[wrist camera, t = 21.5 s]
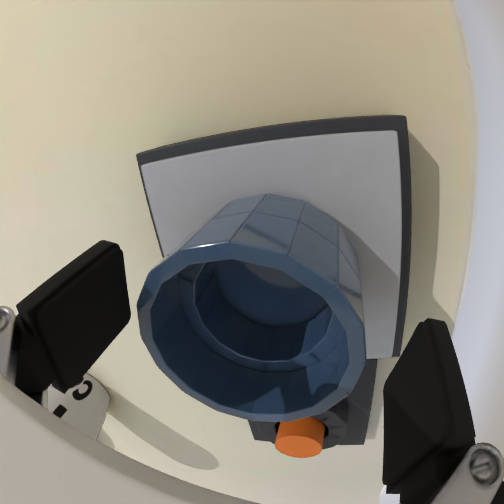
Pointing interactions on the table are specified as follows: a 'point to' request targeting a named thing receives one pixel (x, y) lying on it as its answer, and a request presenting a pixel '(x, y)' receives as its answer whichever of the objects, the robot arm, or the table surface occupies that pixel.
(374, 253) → the scale
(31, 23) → the table surface
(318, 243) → the blue round container
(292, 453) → the button
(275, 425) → the panel
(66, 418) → the cup
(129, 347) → the table surface
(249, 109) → the table surface
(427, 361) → the robot arm
